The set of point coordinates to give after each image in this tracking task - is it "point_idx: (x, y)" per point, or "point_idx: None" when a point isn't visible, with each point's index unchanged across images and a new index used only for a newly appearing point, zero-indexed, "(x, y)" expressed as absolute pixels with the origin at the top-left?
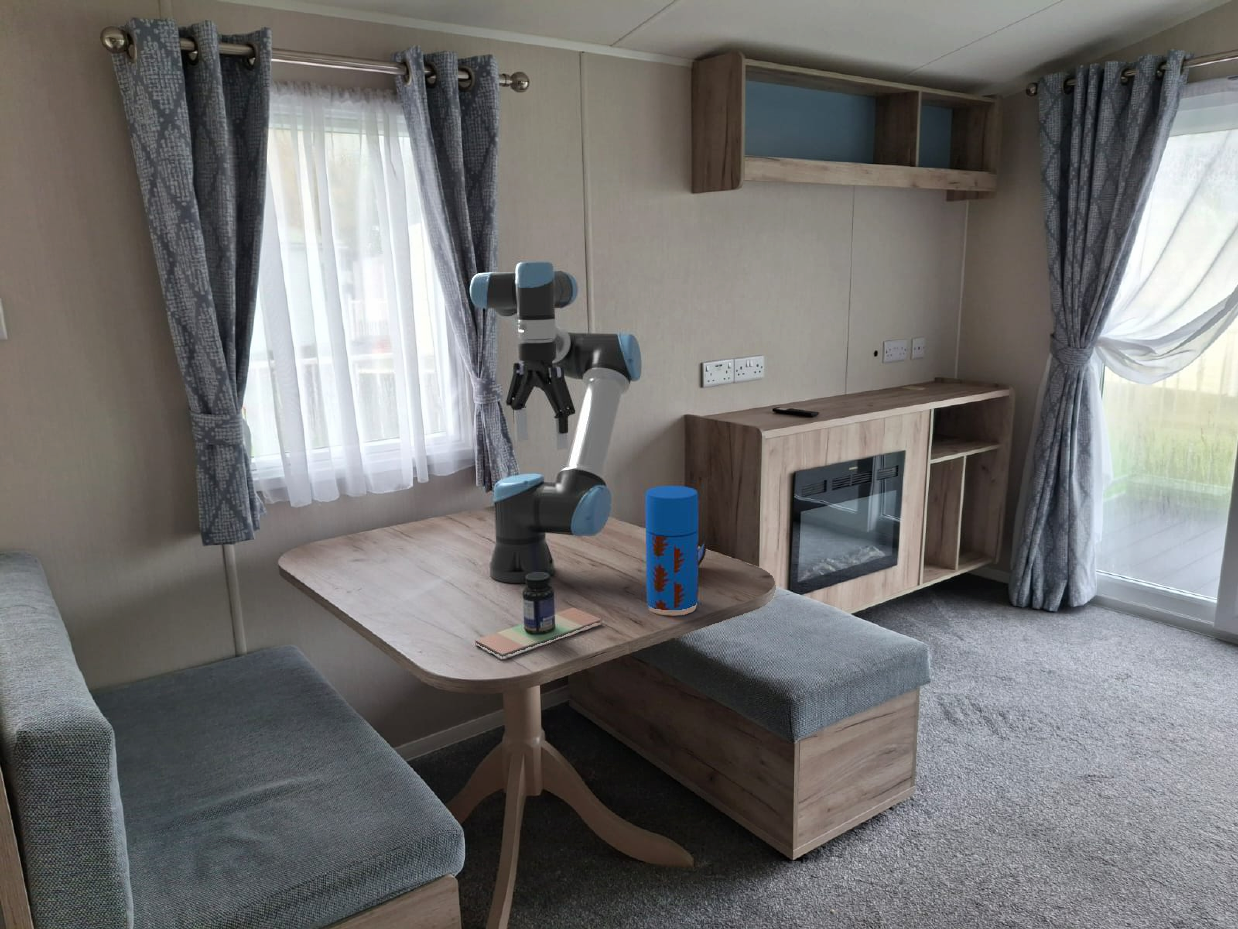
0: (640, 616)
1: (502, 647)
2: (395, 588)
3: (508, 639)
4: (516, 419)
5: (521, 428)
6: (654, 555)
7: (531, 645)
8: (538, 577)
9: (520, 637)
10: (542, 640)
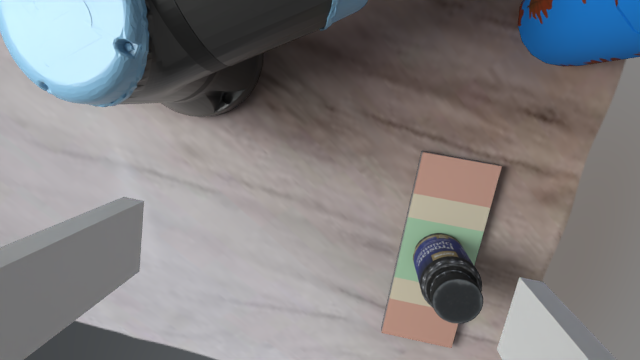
0: (537, 92)
1: (435, 332)
2: None
3: (422, 307)
4: (33, 350)
5: (92, 271)
6: (635, 55)
7: None
8: (464, 306)
9: None
10: None
